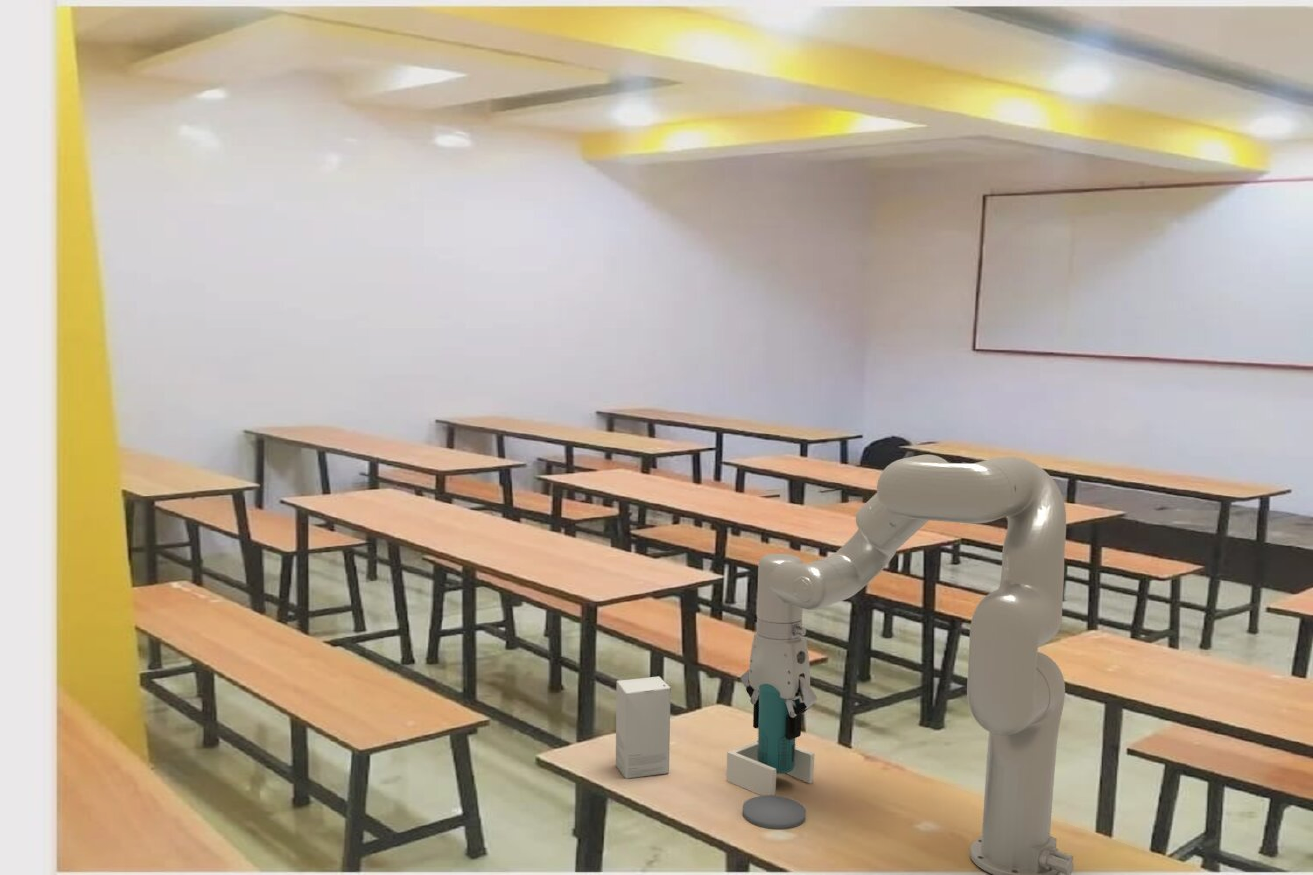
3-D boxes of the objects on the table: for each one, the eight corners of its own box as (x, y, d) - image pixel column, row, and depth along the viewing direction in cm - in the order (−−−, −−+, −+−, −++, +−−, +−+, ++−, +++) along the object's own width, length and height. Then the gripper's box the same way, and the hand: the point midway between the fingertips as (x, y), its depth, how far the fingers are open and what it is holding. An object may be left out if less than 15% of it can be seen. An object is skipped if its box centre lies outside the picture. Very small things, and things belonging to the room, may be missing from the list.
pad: (818, 816, 185) (818, 810, 185) (777, 834, 178) (777, 828, 178) (770, 795, 192) (770, 790, 192) (729, 813, 185) (729, 807, 185)
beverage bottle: (797, 783, 194) (800, 666, 192) (757, 782, 194) (760, 665, 192) (793, 767, 201) (796, 654, 198) (754, 767, 201) (757, 654, 199)
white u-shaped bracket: (813, 781, 199) (814, 753, 198) (771, 799, 191) (772, 770, 190) (768, 763, 206) (769, 736, 205) (726, 780, 198) (727, 752, 198)
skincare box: (658, 760, 206) (661, 675, 204) (670, 775, 200) (673, 687, 198) (613, 765, 203) (615, 678, 201) (623, 780, 197) (626, 691, 195)
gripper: (834, 635, 191) (831, 740, 193) (755, 614, 204) (752, 713, 205) (805, 643, 186) (802, 751, 188) (725, 621, 198) (723, 723, 200)
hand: (776, 731), depth 197 cm, fingers closed on beverage bottle, 6 cm apart
